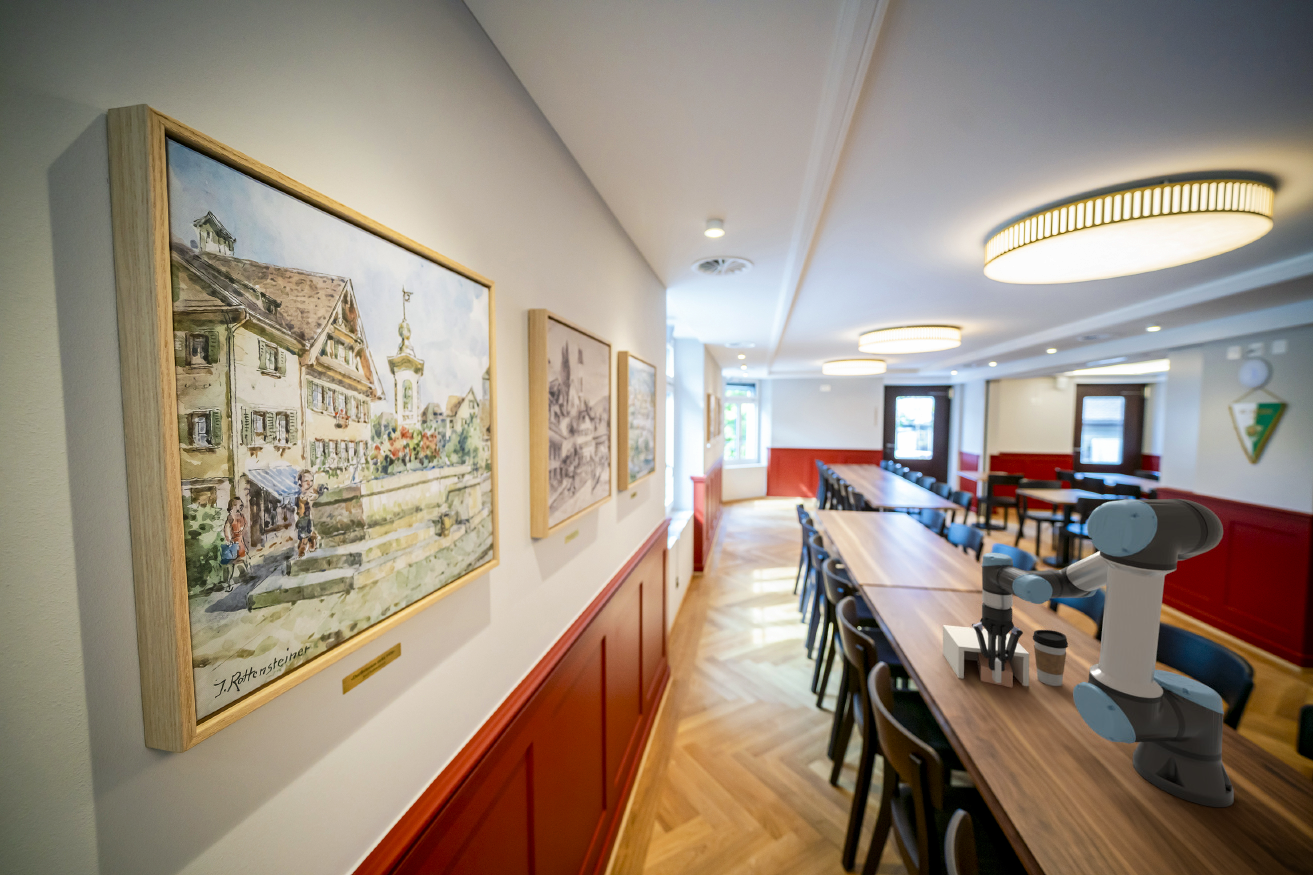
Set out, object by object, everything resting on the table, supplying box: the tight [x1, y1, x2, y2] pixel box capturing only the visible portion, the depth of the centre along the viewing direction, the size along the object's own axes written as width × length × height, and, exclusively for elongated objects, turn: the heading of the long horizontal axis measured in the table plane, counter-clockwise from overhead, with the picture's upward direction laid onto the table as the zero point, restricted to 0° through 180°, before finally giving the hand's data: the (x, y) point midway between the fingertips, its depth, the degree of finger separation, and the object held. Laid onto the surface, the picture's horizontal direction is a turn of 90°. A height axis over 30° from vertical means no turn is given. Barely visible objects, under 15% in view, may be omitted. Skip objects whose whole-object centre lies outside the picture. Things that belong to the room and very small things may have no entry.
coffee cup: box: [1032, 629, 1069, 687], centre depth 146 cm, size 8×8×15 cm
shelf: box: [942, 624, 1030, 687], centre depth 153 cm, size 16×19×10 cm
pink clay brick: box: [977, 652, 1014, 688], centre depth 149 cm, size 10×8×5 cm
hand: (996, 680), depth 143 cm, fingers closed
